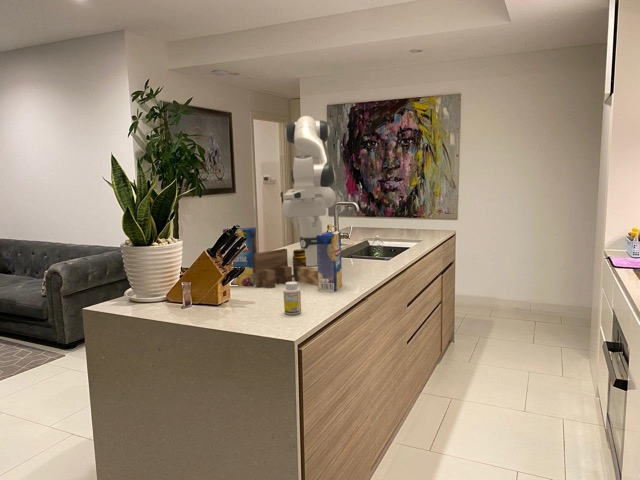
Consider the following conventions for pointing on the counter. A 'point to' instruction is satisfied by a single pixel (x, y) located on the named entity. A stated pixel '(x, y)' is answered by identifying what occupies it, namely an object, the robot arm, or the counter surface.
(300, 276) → the rail
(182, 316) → the counter surface
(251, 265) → the juice carton
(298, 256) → the condiment
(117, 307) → the counter surface
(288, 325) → the counter surface
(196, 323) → the counter surface
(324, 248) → the beverage box
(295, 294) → the supplement bottle
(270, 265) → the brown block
